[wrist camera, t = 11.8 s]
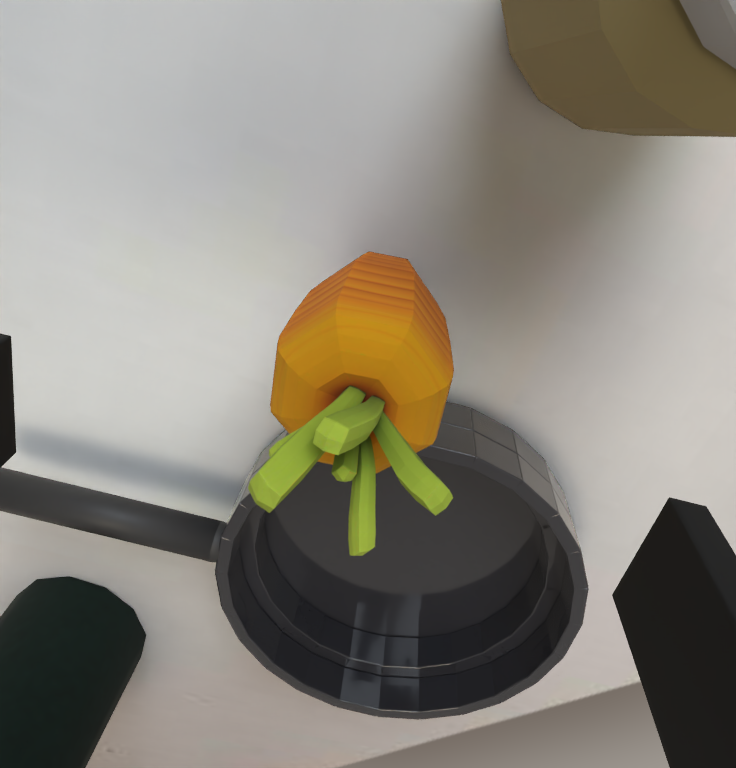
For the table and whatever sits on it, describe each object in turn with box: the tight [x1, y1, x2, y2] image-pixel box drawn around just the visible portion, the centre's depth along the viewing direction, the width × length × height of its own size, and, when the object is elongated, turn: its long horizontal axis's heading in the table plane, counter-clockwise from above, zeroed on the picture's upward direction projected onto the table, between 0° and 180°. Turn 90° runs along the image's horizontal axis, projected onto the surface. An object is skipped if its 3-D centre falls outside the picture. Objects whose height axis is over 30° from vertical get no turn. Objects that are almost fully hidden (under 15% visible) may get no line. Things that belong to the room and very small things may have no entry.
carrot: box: [248, 252, 454, 556], centre depth 19 cm, size 5×5×15 cm
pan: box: [215, 402, 588, 719], centre depth 30 cm, size 16×16×4 cm
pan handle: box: [0, 467, 226, 562], centre depth 28 cm, size 2×12×2 cm, turn 77°
